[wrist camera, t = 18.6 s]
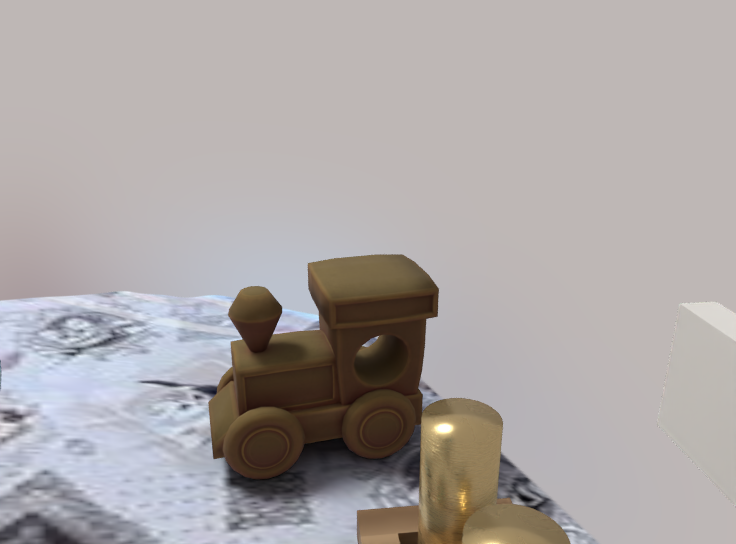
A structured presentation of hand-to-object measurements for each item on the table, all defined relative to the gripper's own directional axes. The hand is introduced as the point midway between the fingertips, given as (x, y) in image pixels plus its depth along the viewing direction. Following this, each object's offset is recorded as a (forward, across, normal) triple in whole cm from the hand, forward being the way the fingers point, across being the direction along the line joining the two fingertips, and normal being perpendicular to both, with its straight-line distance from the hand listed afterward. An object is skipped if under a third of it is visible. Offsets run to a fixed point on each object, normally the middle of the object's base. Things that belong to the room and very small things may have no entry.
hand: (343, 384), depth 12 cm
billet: (+22, +9, -30) cm, 38 cm away
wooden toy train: (+41, +1, -30) cm, 51 cm away
